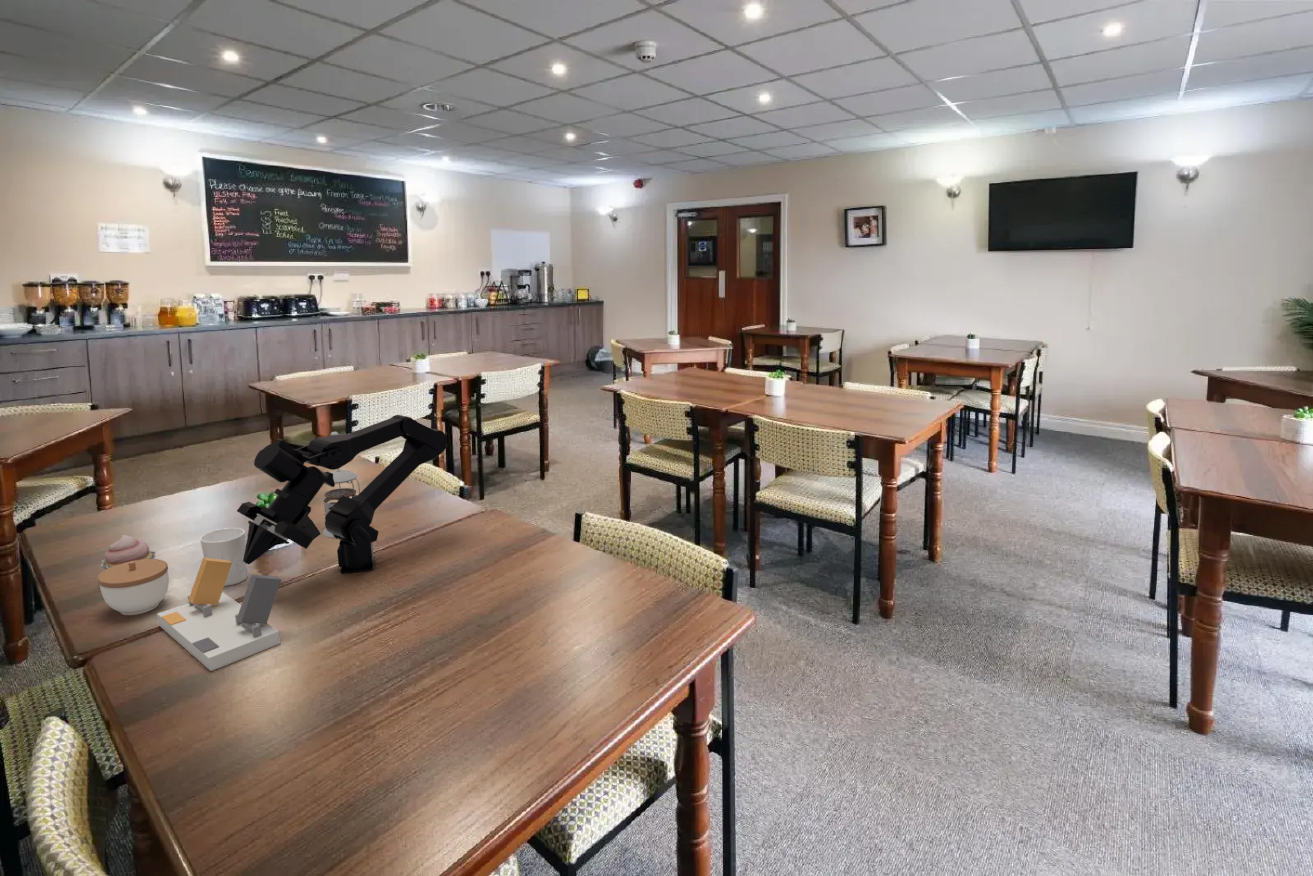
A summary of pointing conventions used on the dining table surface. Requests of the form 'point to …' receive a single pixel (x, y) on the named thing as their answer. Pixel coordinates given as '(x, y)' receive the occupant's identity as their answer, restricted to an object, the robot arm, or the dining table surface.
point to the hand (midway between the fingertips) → (246, 563)
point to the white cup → (227, 551)
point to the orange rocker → (209, 582)
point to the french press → (336, 494)
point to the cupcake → (126, 552)
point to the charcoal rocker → (258, 600)
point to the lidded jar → (135, 585)
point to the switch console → (216, 632)
